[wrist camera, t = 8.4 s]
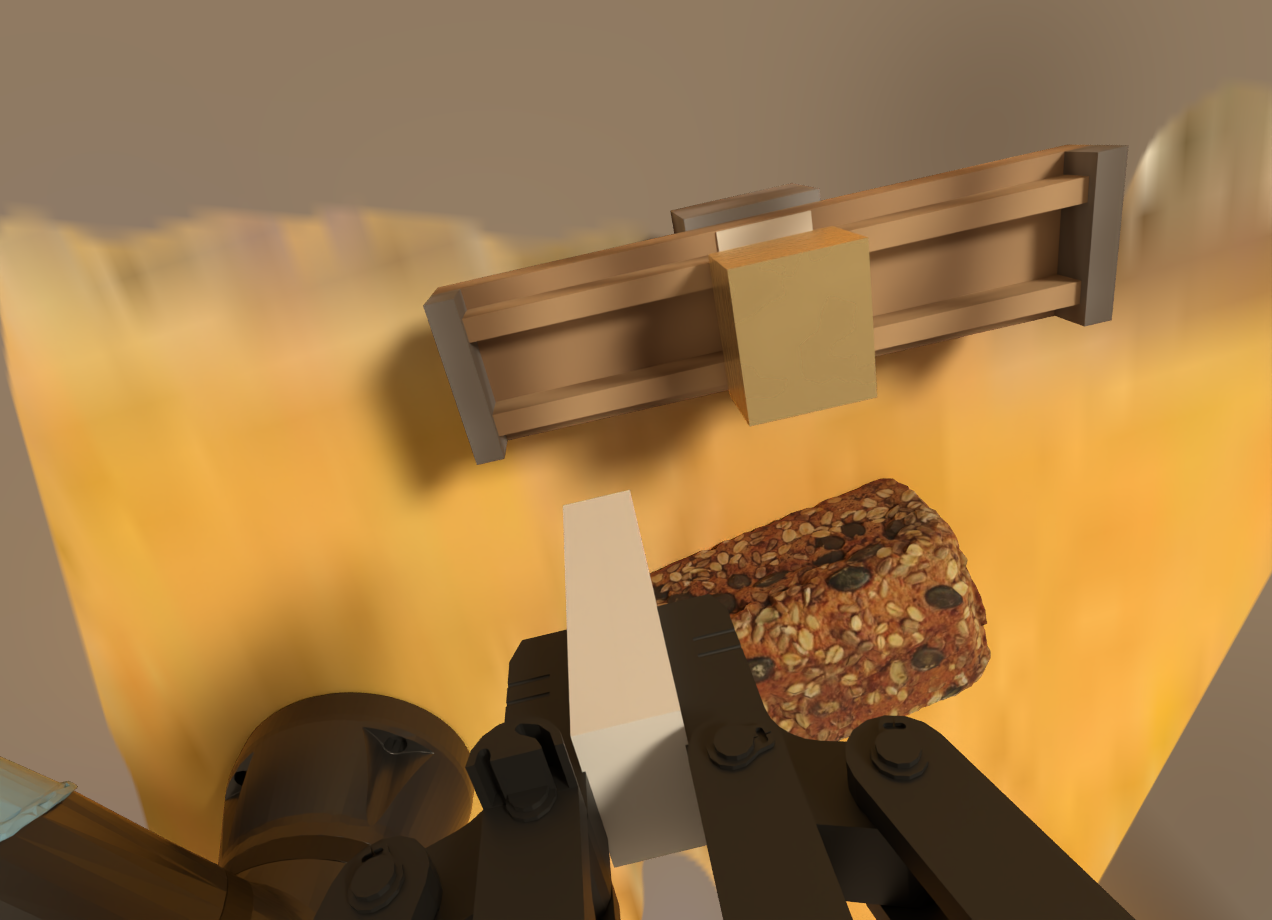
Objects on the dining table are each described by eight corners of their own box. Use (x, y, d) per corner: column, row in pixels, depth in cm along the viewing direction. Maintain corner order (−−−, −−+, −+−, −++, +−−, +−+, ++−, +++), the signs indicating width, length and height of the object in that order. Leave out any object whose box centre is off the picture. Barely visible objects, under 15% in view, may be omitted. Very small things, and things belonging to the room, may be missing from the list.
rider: (720, 382, 31) (749, 426, 27) (699, 247, 29) (726, 269, 24) (828, 357, 31) (877, 397, 27) (817, 221, 29) (868, 237, 24)
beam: (495, 412, 37) (480, 475, 30) (447, 261, 34) (418, 292, 27) (1008, 295, 37) (1110, 331, 30) (1013, 132, 34) (1129, 131, 27)
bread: (665, 696, 47) (690, 829, 38) (603, 575, 42) (615, 694, 33) (930, 595, 45) (1022, 709, 36) (896, 460, 41) (991, 551, 32)
